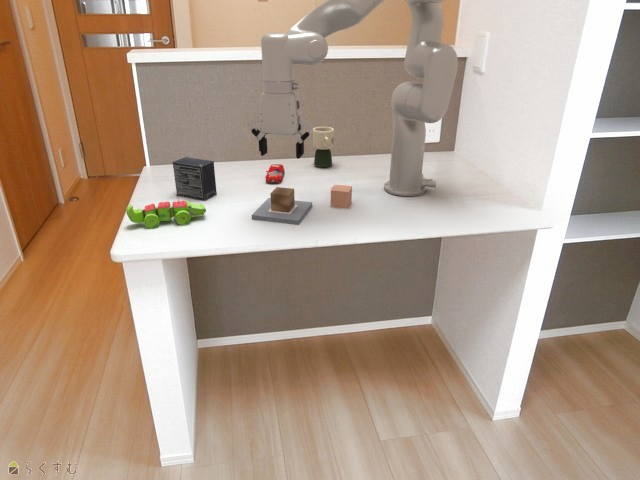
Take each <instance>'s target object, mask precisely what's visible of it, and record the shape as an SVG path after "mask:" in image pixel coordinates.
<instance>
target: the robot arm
mask: <svg viewBox="0 0 640 480" xmlns="http://www.w3.org/2000/svg"><path fill="white" fill-rule="evenodd" d="M384 1H385V0H326V1H324V2H323V3H322V4H320V5H318V6H317V7H316V8H314V9H312V10H311V11H309V12H308V13H306V14H305V15H304V16H303V17H301V18H300V20H299V21H298V22H296V23H295V24H294V25H293V26H292V27H291V28H289V29H288V31H287V32H267V33H264V34H263V35H262V36H261V39H260V43H261V44H260V45H261V46H260V47H261V65H262V82H263V83H262V84H263V86H262V87H263V92H262V93H261V95H260V102H259V116H257V117H254V118H252V119H251V120H249V121H248V122H247V125H248V127H249V129H250V131H251V134H252V135H254V136H255V138H256V140H257V141H258V150H259V152H260V156H262V157H264V156H265V155H266V154H268V139H267V137H266V135H279V136H293V137H294V139H295V140H296V141H297V142H296V143H295V151H296V152H295V156H296V159H301V158H302V157H303V155H304V153H305V140H307V139H308V138H309V137H310V135H311V133H313V128H315V126H314V124H313V123H311V122H310V121H308V120H306V119H304V118H303V117H302V109H301V101H300V97H299V93H298V92H295V91H296V90H300V89H301V83H297V82H296V80H295V70H294V69H295V67H294V65H306V66H314V65H315V66H316V65H318V64H320V63H321V62H322V61H324V60H325V59H326V57H327V55H328V51H329V45H328V42H327V39H326V38H327V37H329V36H330V35H333V34H334V33H337V32H339V31H343V30H346V29H347V30H348V29H350V28H353V27H355V26H357V25H358V24H360V23H361V22H363V21H364V19H366V18H367V17H368V16H369V15H370V14H371V13H372V12H374V10H376V9H377V8H378V7H379V6H380V5H381V4H382V3H384ZM405 2H406V4H407V6H408V8H409V11H410V15H411V23H410V32H409V36H408V41H407V46H406V52H405V56H404V63H403V64H404V65H403V66H404V70H405V72H407V73H408V74H409V75H410V76H411V77H416V78H419V79H422V80H423V83H421V82H417V81H404V82H402V83H400V84H398V85H397V86H396V87H395V89H394V90H393V92H392V95H391V101H390V103H391V114H392V141H391V152H390V153H391V154H390V156H391V157H390V166H389V167H390V169H389V171H390V172H389V180H388V181H386V182H384V185H383V189H384V190H385V192H387V193H388V194H391V195H395V196H398V197H399V196H400V197H401V196H402V197H416V196H419V195H423V194H424V193H425V192H426V189H427V187H429V188H433V189H436V188H437V187H436V186H437V181H436V180H434V179H433V178H426V177H424V173H423V167H424V166H423V165H424V156H425V155H424V154H425V145H426V144H425V143H426V136H427V133H426V132H427V129H426V124H435V123H438V122H439V121H441V120H442V119H443V118H444V116H445V115H446V113H447V111H448V108H449V105H450V102H451V101H450V100H451V98H452V95H453V94H452V93H453V90H454V86H455V80H456V76H457V72H458V66H459V62H458V61H459V59H458V55H457V52H456V50H455V48H454V47H452V46H451V45H450V44H448V43H444V42H441V41H442V36H443V30H444V29H443V28H444V25H445V24H444V23H445V18H444V10H443V7H442V4H441V3H444V2H446V0H405ZM258 123H259V129H258V127H257V126H256V124H258ZM302 127H304V128H305V131H304V132H302V129H303V128H302Z"/></svg>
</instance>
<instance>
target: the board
mask: <svg viewBox="0 0 640 480" xmlns="http://www.w3.org/2000/svg"><path fill="white" fill-rule="evenodd" d="M312 208H313V202H312V201H304V200H295V206H294V207H293V208H292V210H291V211H290V212H289V213H287V212H278V211H271V197H268V198H267V199H266V200H264V202H263V203H262V204H261V205H260V206H259V207H258V208H257V209H256V210H255V211H254V212H253V213H252V214H251V220H256V221H261V222H263V221H264V222H271V223H272V222H273V223H283V224H290V225H300V224H301V222H302V221H303V220H304V218H305V217H306V216H307V214H308V213H309V212H310V210H311V209H312Z"/></svg>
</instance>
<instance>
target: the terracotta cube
mask: <svg viewBox="0 0 640 480" xmlns="http://www.w3.org/2000/svg"><path fill="white" fill-rule="evenodd" d="M352 198H353V186H351V185H344V184H343V185H342V184H334V185H333V187H332V188H331V189H330V208H338V209H348V210H349V208H350V206H351V204H352V202H353V201H352V200H353V199H352Z"/></svg>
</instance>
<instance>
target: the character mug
mask: <svg viewBox="0 0 640 480" xmlns="http://www.w3.org/2000/svg"><path fill="white" fill-rule="evenodd" d="M334 134H335V129H334V128H333V127H330V126H316V127H314V128H313V130H312V147H313V148H314V149H316V150H315V153H314V161H313V165H314V166H316V167H323V168H326V167H332V165H333V158H332V151H331V149H332V148H333V147H334V146H335V145H334V140H335V138H334V137H335V135H334Z"/></svg>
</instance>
